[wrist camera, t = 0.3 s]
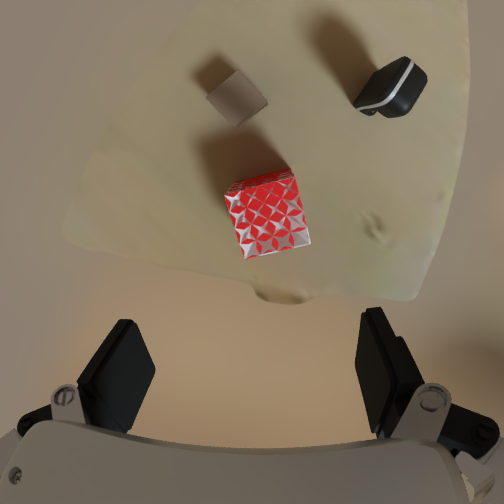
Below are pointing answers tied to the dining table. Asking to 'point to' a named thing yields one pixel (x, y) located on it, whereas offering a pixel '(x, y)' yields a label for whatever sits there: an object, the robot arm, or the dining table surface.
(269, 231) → the puzzle cube
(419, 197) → the dining table surface
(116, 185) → the dining table surface
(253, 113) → the walnut block
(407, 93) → the battery charger
